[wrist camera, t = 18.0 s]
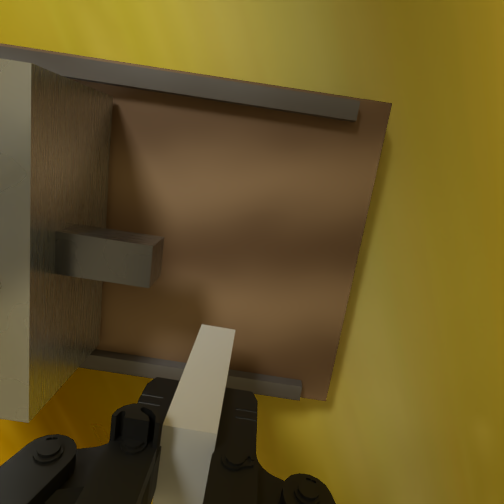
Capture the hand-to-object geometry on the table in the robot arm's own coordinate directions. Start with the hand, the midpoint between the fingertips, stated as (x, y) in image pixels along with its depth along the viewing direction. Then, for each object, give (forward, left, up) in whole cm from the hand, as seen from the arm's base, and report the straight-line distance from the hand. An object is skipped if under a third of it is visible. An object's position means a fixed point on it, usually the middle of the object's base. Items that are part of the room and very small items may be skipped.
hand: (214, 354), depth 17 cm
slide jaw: (-4, -6, -2) cm, 8 cm away
